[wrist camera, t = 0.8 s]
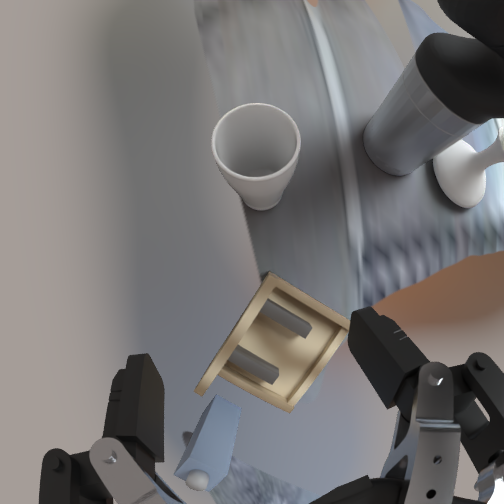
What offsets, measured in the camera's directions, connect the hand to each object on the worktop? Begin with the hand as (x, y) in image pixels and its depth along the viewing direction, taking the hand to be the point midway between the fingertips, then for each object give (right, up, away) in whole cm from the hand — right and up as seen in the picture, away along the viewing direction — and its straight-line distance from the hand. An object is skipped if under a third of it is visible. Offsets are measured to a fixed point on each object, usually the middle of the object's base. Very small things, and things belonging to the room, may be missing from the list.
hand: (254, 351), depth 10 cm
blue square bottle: (-4, -18, +23) cm, 29 cm away
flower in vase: (+31, +15, +22) cm, 41 cm away
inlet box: (+3, -8, +23) cm, 24 cm away
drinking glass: (+1, +11, +24) cm, 26 cm away
